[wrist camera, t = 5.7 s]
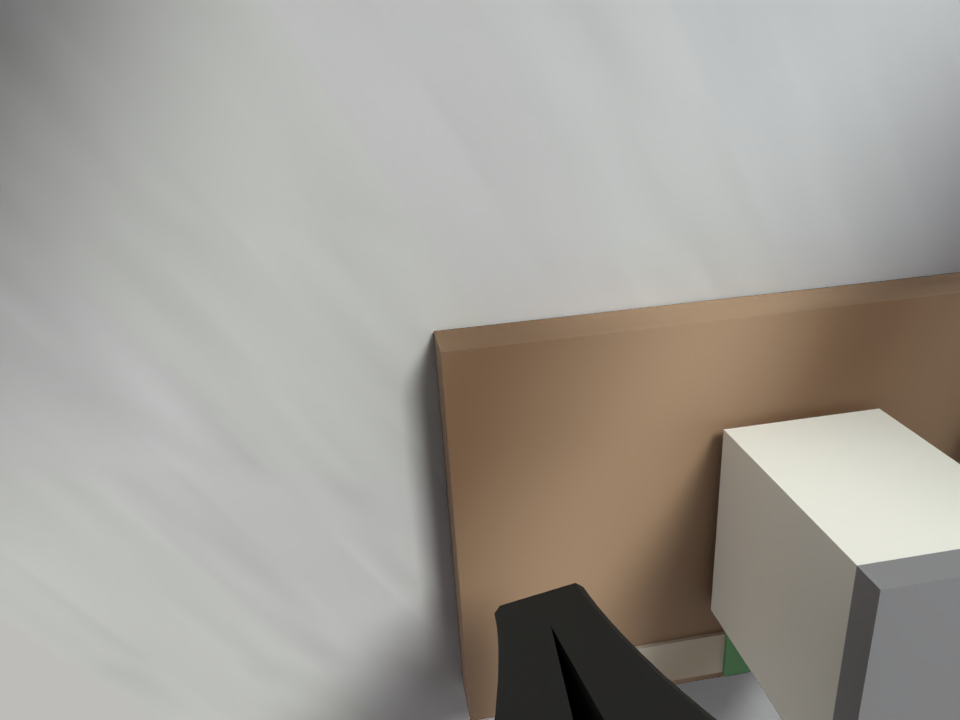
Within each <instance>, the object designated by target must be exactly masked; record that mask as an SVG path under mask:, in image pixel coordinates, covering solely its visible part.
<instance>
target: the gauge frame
mask: <svg viewBox="0 0 960 720" xmlns="http://www.w3.org/2000/svg"><path fill="white" fill-rule="evenodd" d="M434 340H435V352H436V364H437V376H438V388H439V400H440V412H441V423H442V435H443V447H444V459H445V471H446V483H447V495H448V507H449V519H450V531H451V543H452V555H453V567H454V579H455V591H456V603H457V615H458V627H459V638H460V650H461V662H462V674H463V685H464V690H465V695H466V700H467V705H468V710H469V715H470V720H479V719H485V718H490V717H495V711H496V698H497V685H498V634H497V625H496V620H495V615H494V613H495V612H496V610H497V609H498V608H499V606H500V605H504V604H507V603H510V602H514V601H517V600H520V599H524V598H527V597H530V596H533V595H537V594H540V593H543V592H547V591H550V590H553V589H557V588H560V587H563V586H566V585H570V584H573V583H577V584H579V585H581V586H583V587H584V588H585V590H586V591H587V593H588V594H589V595H590V597H591V598H592V599H593V601H594V602H595V603H596V604H597V606H598V607H599V608H600V609H601V611H602V612H603V613H604V614H605V615H606V616H607V617H608V619H609V620H610V621H611V622H612V623H613V624H614V625H615V626H616V627H617V629H618V630H619V631H620V632H621V633H622V634H623V635H624V636H625V637H626V638H627V639H628V640H629V641H630V642H631V643H632V644H633V645H634V646H635V647H636V648H637V649H638V650H639V651H640V652H641V653H642V654H643V655H644V656H645V657H646V658H647V659H648V660H649V661H650V662H651V663H652V664H653V665H654V666H655V667H656V668H657V669H658V670H659V671H660V672H662V673H663V674H664V675H665V676H666V677H667V678H668V679H669V680H670V681H671V682H672V683H674V684H681V683H686V682H692V681H697V680H703V679H709V678H714V677H720V676H724V677H725V676H730V675H736V674H741V673H747V672H751V671H750V669H749V667H748V666H747V664H746V663H745V661H744V660H743V658H742V657H741V655H740V654H739V652H738V651H737V649H736V648H735V646H734V645H733V643H732V641H731V640H730V638H729V637H728V635H727V634H726V632H725V631H724V629H723V628H722V626H721V625H720V623H719V622H718V620H717V618H716V617H715V615H714V614H713V612H712V611H711V600H712V586H713V572H714V558H715V544H716V530H717V516H718V502H719V488H720V474H721V460H722V446H723V432H724V429H731V428H738V427H746V426H753V425H761V424H768V423H775V422H783V421H790V420H798V419H805V418H812V417H820V416H827V415H835V414H842V413H849V412H857V411H864V410H872V409H881V410H882V411H884V412H885V413H886V414H888V415H889V416H891V417H892V418H894V419H895V420H897V421H898V422H900V423H901V424H902V425H904V426H905V427H907V428H908V429H910V430H911V431H913V432H914V433H915V434H917V435H918V436H920V437H921V438H923V439H924V440H926V441H927V442H929V443H930V444H931V445H933V446H934V447H936V448H937V449H939V450H940V451H942V452H943V453H944V454H946V455H947V456H949V457H950V458H952V459H953V460H955V461H956V462H958V463H959V464H960V273H951V274H942V275H933V276H924V277H915V278H906V279H897V280H888V281H879V282H870V283H861V284H852V285H843V286H835V287H826V288H817V289H808V290H799V291H790V292H781V293H772V294H763V295H754V296H745V297H736V298H727V299H718V300H709V301H701V302H692V303H683V304H674V305H665V306H656V307H647V308H638V309H629V310H620V311H611V312H602V313H593V314H584V315H575V316H566V317H558V318H549V319H540V320H531V321H522V322H513V323H504V324H495V325H486V326H477V327H468V328H459V329H450V330H441V331H434Z"/></svg>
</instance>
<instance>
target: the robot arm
mask: <svg viewBox="0 0 960 720" xmlns="http://www.w3.org/2000/svg"><path fill="white" fill-rule="evenodd" d="M494 615H495V620H496V625H497V634H498V685H497V698H496V711H495V720H716V719H715V718H714V717H712V716H711V715H710V714H709V713H707V712H706V711H705V710H704V709H703V708H701V707H700V706H699V705H698V704H697V703H696V702H694V701H693V700H692V699H691V698H690V697H688V696H687V695H686V694H685V693H684V692H682V691H681V690H680V689H679V688H678V687H677V686H676V685H675V684H674V683H672V682H671V681H670V680H669V679H668V678H667V677H666V676H665V675H664V674H663V673H662V672H660V671H659V670H658V669H657V668H656V667H655V666H654V665H653V664H652V663H651V662H650V661H649V660H648V659H647V658H646V657H645V656H644V655H643V654H642V653H641V652H640V651H639V650H638V649H637V648H636V647H635V646H634V645H633V644H632V643H631V642H630V641H629V640H628V639H627V638H626V637H625V636H624V635H623V634H622V633H621V632H620V631H619V630H618V629H617V627H616V626H615V625H614V624H613V623H612V622H611V621H610V620H609V619H608V617H607V616H606V615H605V614H604V613H603V612H602V611H601V609H600V608H599V607H598V606H597V604H596V603H595V602H594V601H593V599H592V598H591V597H590V595H589V594H588V593H587V591H586V590H585V588H584V587H583V586H581V585H579V584H577V583H573V584H570V585H566V586H563V587H560V588H557V589H553V590H550V591H547V592H543V593H540V594H537V595H533V596H530V597H527V598H524V599H520V600H517V601H514V602H510V603H507V604H504V605H500V606H499V608H498V609H497V610H496V612H495V613H494Z"/></svg>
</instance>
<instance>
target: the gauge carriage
mask: <svg viewBox="0 0 960 720" xmlns="http://www.w3.org/2000/svg"><path fill="white" fill-rule="evenodd" d="M711 611H712V612H713V614H714V615H715V617H716V618H717V620H718V622H719V623H720V625H721V626H722V628H723V629H724V631H725V632H726V634H727V635H728V637H729V638H730V640H731V641H732V643H733V645H734V646H735V648H736V649H737V651H738V652H739V654H740V655H741V657H742V658H743V660H744V661H745V663H746V664H747V666H748V667H749V669H750V671H751V672H752V674H753V675H754V677H755V678H756V680H757V681H758V683H759V684H760V686H761V687H762V689H763V690H764V692H765V694H766V695H767V697H768V698H769V700H770V701H771V703H772V704H773V706H774V707H775V709H776V710H777V712H778V713H779V715H780V717H781V718H782V720H960V464H959V463H958V462H956V461H955V460H953V459H952V458H950V457H949V456H947V455H946V454H944V453H943V452H942V451H940V450H939V449H937V448H936V447H934V446H933V445H931V444H930V443H929V442H927V441H926V440H924V439H923V438H921V437H920V436H918V435H917V434H915V433H914V432H913V431H911V430H910V429H908V428H907V427H905V426H904V425H902V424H901V423H900V422H898V421H897V420H895V419H894V418H892V417H891V416H889V415H888V414H886V413H885V412H884V411H882V410H881V409H872V410H864V411H857V412H849V413H842V414H835V415H827V416H820V417H812V418H805V419H798V420H790V421H783V422H775V423H768V424H761V425H753V426H746V427H738V428H731V429H724V432H723V446H722V460H721V474H720V488H719V502H718V516H717V530H716V544H715V558H714V572H713V586H712V600H711Z"/></svg>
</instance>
